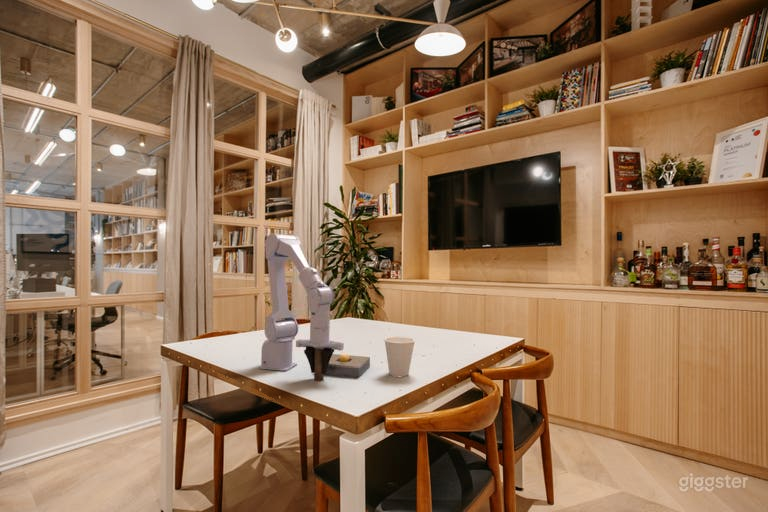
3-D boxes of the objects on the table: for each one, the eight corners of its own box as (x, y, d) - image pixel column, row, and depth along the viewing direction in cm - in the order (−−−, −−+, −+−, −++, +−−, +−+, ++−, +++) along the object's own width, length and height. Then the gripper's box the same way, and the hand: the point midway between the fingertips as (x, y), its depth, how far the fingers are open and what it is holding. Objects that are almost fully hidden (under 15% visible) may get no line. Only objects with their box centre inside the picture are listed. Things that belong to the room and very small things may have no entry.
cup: (378, 371, 121) (379, 337, 121) (406, 368, 124) (407, 335, 124) (390, 380, 111) (390, 343, 112) (420, 377, 115) (420, 341, 115)
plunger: (337, 363, 120) (337, 356, 120) (341, 360, 123) (341, 354, 123) (347, 363, 119) (347, 357, 119) (350, 361, 122) (350, 355, 122)
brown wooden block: (312, 380, 110) (313, 349, 111) (316, 377, 113) (317, 347, 113) (321, 381, 110) (322, 350, 110) (325, 378, 112) (325, 348, 113)
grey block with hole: (316, 373, 117) (316, 362, 117) (330, 363, 129) (330, 353, 129) (359, 377, 114) (359, 366, 114) (369, 367, 125) (370, 357, 125)
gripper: (291, 327, 109) (290, 374, 109) (337, 330, 106) (336, 378, 106) (302, 324, 116) (301, 367, 116) (346, 326, 113) (345, 371, 113)
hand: (318, 372), depth 111 cm, fingers closed on brown wooden block, 3 cm apart
